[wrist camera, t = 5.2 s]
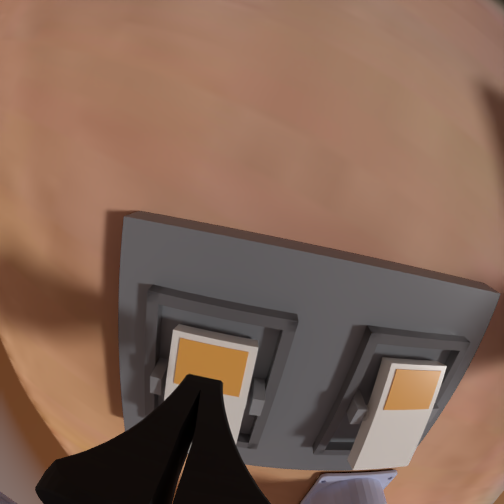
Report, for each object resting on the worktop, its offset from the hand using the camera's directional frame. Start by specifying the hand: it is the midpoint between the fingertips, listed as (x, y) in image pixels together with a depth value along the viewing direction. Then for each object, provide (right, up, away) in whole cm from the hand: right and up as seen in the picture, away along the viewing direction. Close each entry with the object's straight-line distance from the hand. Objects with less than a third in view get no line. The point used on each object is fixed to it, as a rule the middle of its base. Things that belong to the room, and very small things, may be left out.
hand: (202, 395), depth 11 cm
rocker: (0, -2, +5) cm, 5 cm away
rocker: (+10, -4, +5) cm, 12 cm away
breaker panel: (+5, -2, +7) cm, 9 cm away
